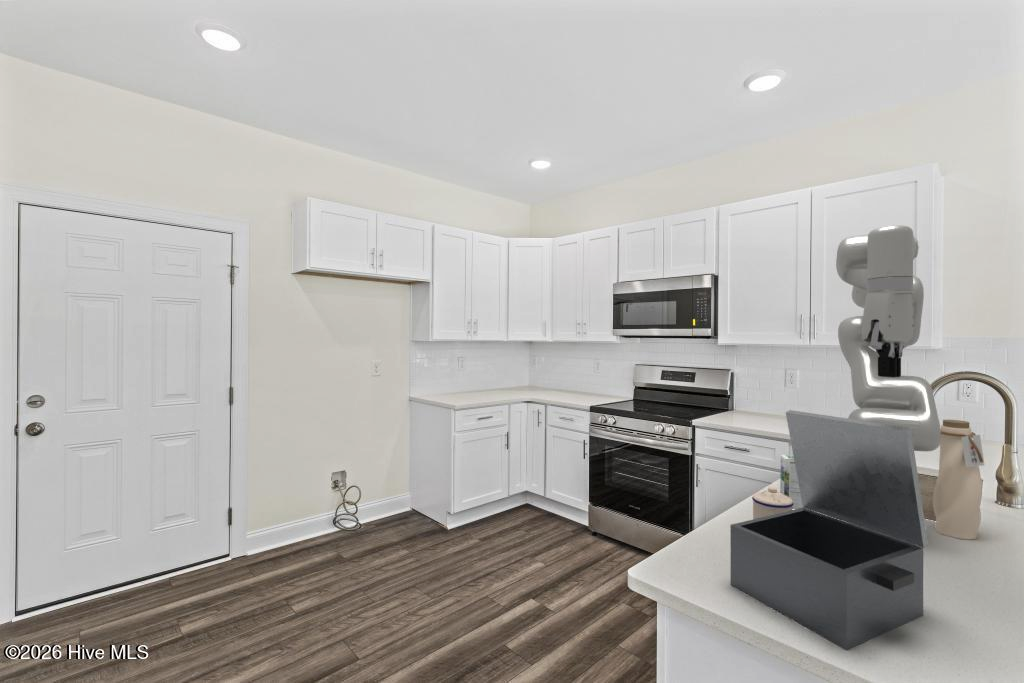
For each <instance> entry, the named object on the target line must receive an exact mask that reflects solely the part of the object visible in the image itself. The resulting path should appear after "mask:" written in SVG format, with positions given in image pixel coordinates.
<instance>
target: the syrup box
mask: <svg viewBox="0 0 1024 683" xmlns="http://www.w3.org/2000/svg"><path fill="white" fill-rule="evenodd" d="M779 483H780V484H779V492H780V493H781V494H783V495H785V496H788V497H789V498H791V499H792V501H793V503H794V505H793V506H792V509H799V508H803V505H802V499H801V494H800V488H799V483H798V477H797V472H796V467H795V461H794V456H793V454H781V455H780V480H779ZM805 509H806V508H805Z"/></svg>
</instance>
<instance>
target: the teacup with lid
mask: <svg viewBox="0 0 1024 683" xmlns="http://www.w3.org/2000/svg"><path fill="white" fill-rule="evenodd" d="M751 499H752V504H753V505H752V510H753V511H752V512H753V513H752V520H753V519H757V518H761V517H765V516H770V515H774V514H778V513H782V512H786V511H791V510H792V506H793V505H794V503H793V501H792V499H791V498H789V497H788V496H785V495H783V494H781V493H780V491H778V489H777V488H776V487H774V486H769V487H768V488H767V490H763V491H760V492H759V491H758V492H755V493H753V495H752V498H751Z"/></svg>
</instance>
